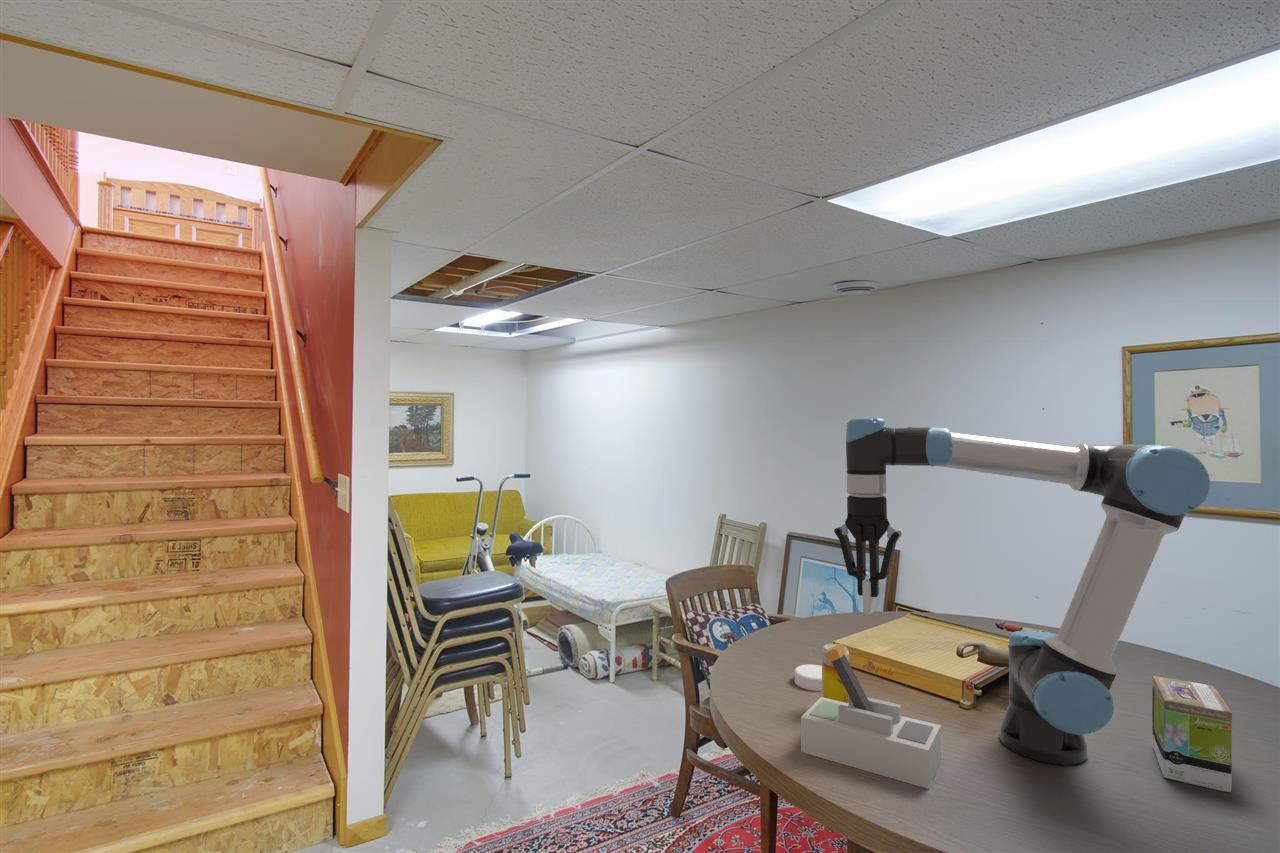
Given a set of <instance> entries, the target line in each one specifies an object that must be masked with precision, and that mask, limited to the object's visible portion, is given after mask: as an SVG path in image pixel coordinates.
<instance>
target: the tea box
mask: <svg viewBox="0 0 1280 853" xmlns="http://www.w3.org/2000/svg"><path fill="white" fill-rule="evenodd" d="M1151 686H1152V689H1151V690H1152V705H1151V706H1152V708H1151V709H1152V711H1151V712H1152V714H1151V716H1152V717H1151V719H1152V720H1151V722H1152V723H1151V725H1152V726H1151V727H1152V728H1151V739H1152V740H1151V743H1152V744H1151V745H1152V747H1153V751H1154V753H1155V756H1156V759H1157V762H1158V766H1159V768H1160V771H1161V774H1162V777H1163V778H1165V779H1168V780H1172V781H1177V782H1180V783H1186V784H1189V785H1193V786H1197V787H1198V786H1199V787H1203V788H1206V789H1211V790H1216V791H1221V792H1225V793H1231V791H1232V789H1233V788H1232V784H1233V783H1232V781H1233V780H1232V778H1233V777H1232V775H1233V772H1232V767H1233V751H1232V750H1233V712H1232V710H1231V709H1230V707H1229V705H1228V704H1227V703H1226V701H1225V700H1224V699H1223V697H1222V696H1221V694H1220V693H1219V691H1218V689H1216V687H1215V686H1214V685H1210V684H1204V683H1199V682H1194V681H1186V680H1181V679H1175V678H1168V677H1162V676H1155V675H1154V676H1152V685H1151Z"/></svg>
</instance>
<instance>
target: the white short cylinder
mask: <svg viewBox="0 0 1280 853" xmlns="http://www.w3.org/2000/svg"><path fill="white" fill-rule="evenodd" d="M794 684H795V685H796V686H797V687H799V688H802V690H803V689H804V690H808V691H813V692H822V665H818V664H802V665H798V666H796V667H795V669H794Z"/></svg>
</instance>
